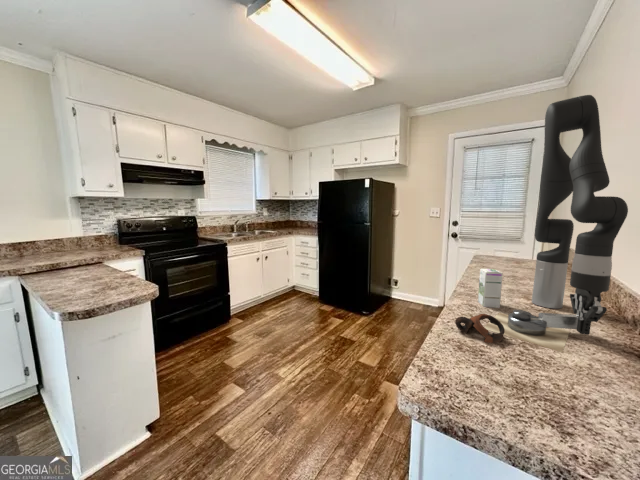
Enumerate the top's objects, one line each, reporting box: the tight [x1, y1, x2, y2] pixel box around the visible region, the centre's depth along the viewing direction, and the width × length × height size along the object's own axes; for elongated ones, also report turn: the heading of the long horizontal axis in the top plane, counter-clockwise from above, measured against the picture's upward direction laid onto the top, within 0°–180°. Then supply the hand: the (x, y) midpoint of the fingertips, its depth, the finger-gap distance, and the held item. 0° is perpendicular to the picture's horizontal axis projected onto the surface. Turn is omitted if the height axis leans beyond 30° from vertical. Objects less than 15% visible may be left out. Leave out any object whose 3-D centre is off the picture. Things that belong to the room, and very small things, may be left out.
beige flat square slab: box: [483, 312, 571, 353], centre depth 80 cm, size 18×18×2 cm
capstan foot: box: [507, 309, 578, 336], centre depth 79 cm, size 21×9×5 cm, turn 81°
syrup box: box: [477, 268, 504, 309], centre depth 100 cm, size 6×6×14 cm
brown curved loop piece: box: [454, 313, 505, 348], centre depth 77 cm, size 12×10×8 cm
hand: (582, 332), depth 75 cm, fingers closed
